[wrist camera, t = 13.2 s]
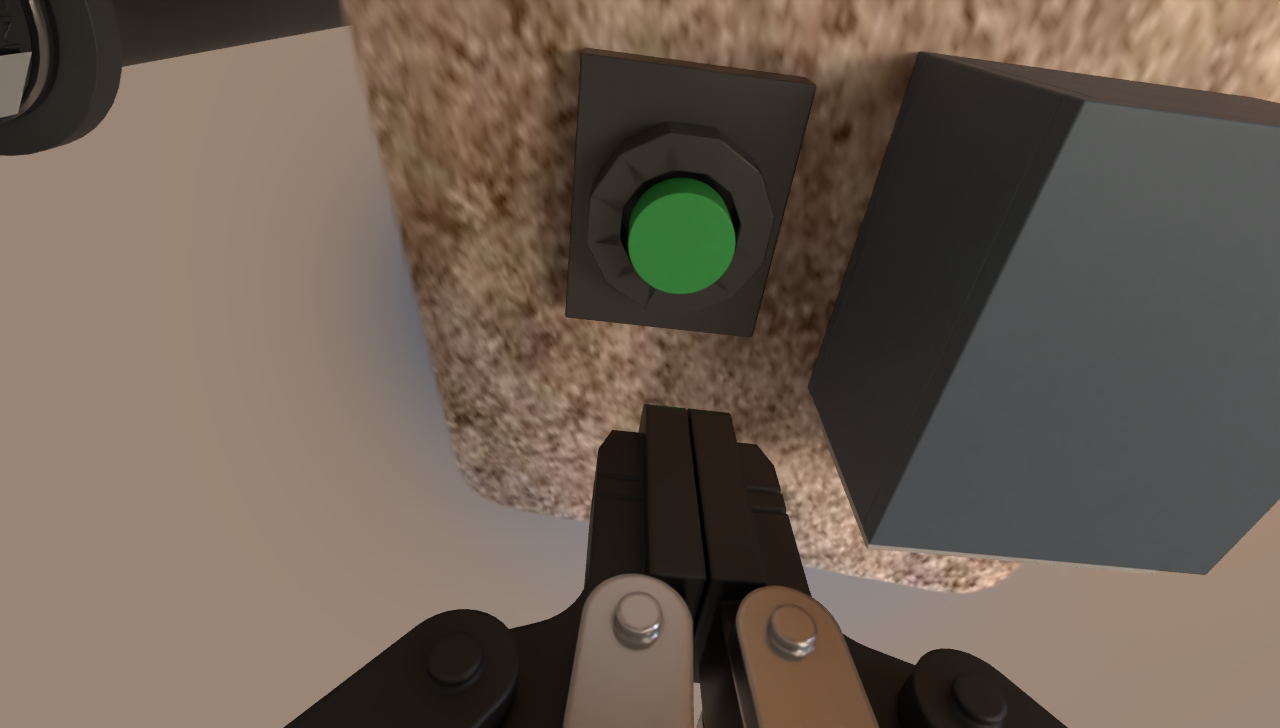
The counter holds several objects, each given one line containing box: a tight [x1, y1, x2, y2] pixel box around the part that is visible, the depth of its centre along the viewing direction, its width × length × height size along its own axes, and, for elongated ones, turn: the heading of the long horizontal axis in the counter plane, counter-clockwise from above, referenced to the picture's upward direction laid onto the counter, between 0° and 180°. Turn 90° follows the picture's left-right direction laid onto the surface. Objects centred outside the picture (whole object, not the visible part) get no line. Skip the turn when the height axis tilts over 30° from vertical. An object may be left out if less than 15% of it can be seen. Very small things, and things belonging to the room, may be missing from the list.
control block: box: [565, 48, 816, 337], centre depth 23 cm, size 10×8×4 cm
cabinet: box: [808, 52, 1280, 575], centre depth 22 cm, size 15×13×10 cm
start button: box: [628, 178, 736, 294], centre depth 21 cm, size 4×4×2 cm
